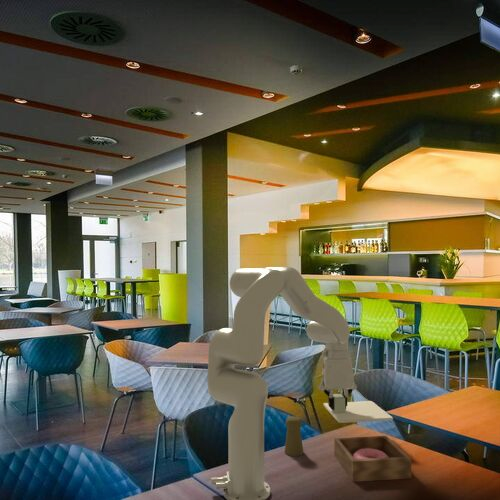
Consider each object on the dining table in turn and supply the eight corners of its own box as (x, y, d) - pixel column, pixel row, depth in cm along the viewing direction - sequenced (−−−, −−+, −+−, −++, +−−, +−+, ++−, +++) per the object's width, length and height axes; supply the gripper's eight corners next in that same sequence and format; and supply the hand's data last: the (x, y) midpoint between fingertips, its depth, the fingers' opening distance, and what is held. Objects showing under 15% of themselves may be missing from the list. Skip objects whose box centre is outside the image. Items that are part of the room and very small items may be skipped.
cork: (303, 448, 147) (303, 414, 147) (303, 456, 141) (303, 421, 141) (284, 448, 147) (284, 414, 148) (284, 455, 141) (284, 420, 142)
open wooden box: (353, 481, 124) (352, 461, 124) (334, 456, 141) (334, 438, 141) (411, 478, 126) (411, 458, 126) (386, 453, 143) (385, 435, 143)
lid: (339, 422, 143) (338, 404, 143) (323, 405, 161) (323, 389, 161) (392, 420, 145) (392, 402, 145) (371, 403, 163) (371, 387, 163)
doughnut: (350, 472, 130) (350, 457, 130) (354, 457, 141) (354, 443, 141) (389, 477, 127) (389, 462, 127) (390, 461, 137) (390, 448, 137)
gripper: (316, 357, 148) (317, 413, 148) (364, 355, 150) (365, 411, 150) (310, 352, 156) (311, 406, 155) (356, 351, 158) (357, 404, 157)
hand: (337, 407), depth 153 cm, fingers closed on lid, 3 cm apart
